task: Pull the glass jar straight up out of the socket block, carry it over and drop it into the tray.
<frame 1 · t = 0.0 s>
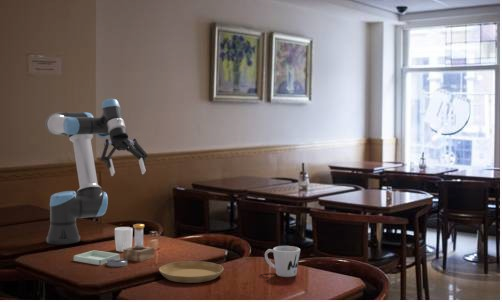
hand: (128, 173, 260), 36 cm above the table, tool tilted 35°, fingers open, 13 cm apart
mug: (281, 274, 240), on the table
glass jar: (138, 258, 261), resting on socket block
tray: (97, 260, 257), on the table
plant saucer: (191, 277, 236), on the table
socket block: (138, 259, 261), on the table
pulley wheel: (117, 265, 250), on the table
white cup: (123, 251, 276), on the table
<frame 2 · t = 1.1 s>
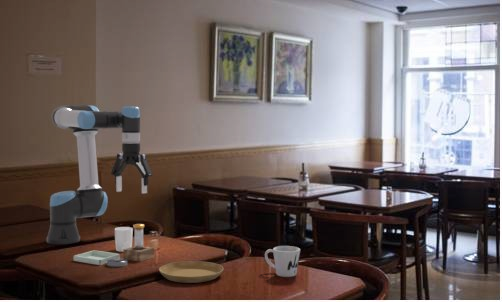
hand: (131, 192, 267), 27 cm above the table, tool pointing down, fingers open, 13 cm apart
nothing on the table moved.
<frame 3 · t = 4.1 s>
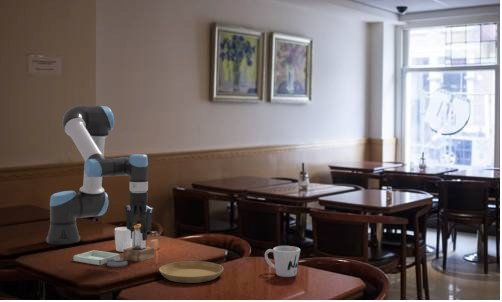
hand: (138, 247, 261), 5 cm above the table, tool pointing down, fingers closed on glass jar, 3 cm apart
glass jar: (138, 258, 261), point 1 cm above the table, touching gripper, socket block
everything else where it was.
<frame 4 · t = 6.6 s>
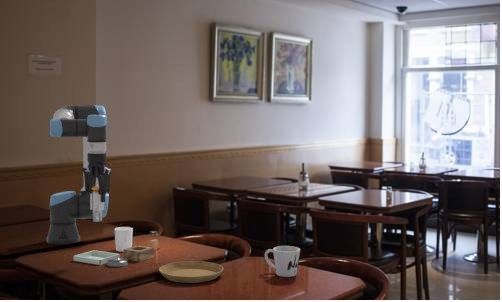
hand: (97, 209, 256), 21 cm above the table, tool pointing down, fingers closed on glass jar, 3 cm apart
glass jar: (97, 220, 256), point 17 cm above the table, touching gripper
everything else where it was.
when the fingers open (7 cm above the table, at t = 9.1 s): glass jar drops 1 cm, resting on tray.
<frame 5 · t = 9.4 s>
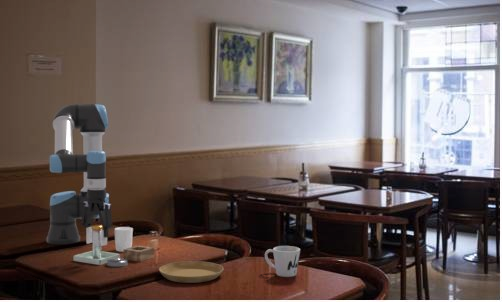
hand: (96, 243, 257), 7 cm above the table, tool pointing down, fingers open, 7 cm apart
glass jar: (96, 259, 257), point 1 cm above the table, touching tray
everything else where it was.
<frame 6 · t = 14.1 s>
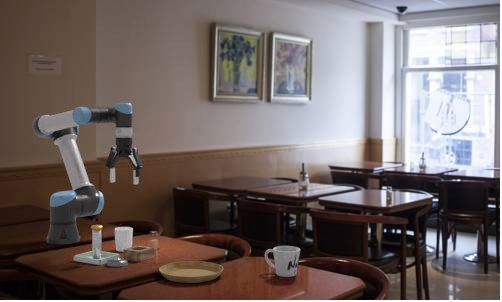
hand: (124, 183, 286), 29 cm above the table, tool pointing down, fingers open, 13 cm apart
nothing on the table moved.
at the end: glass jar inside the target area on the tray (0.0 cm from its centre), point 0.6 cm above the tray's base; the gripper is holding nothing; glass jar moved 17.0 cm from its start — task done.
